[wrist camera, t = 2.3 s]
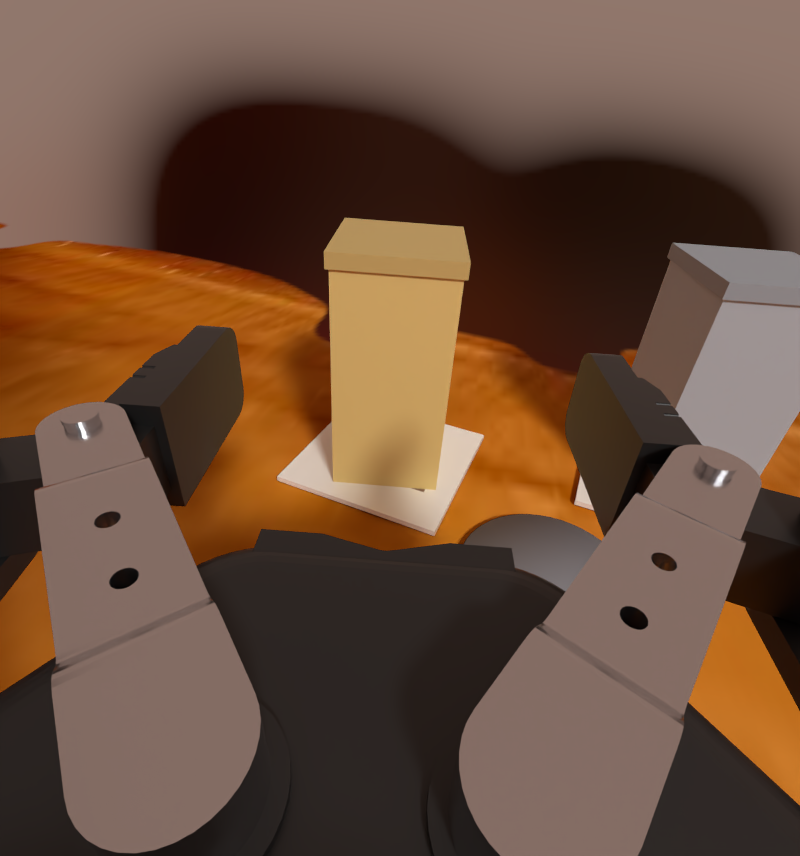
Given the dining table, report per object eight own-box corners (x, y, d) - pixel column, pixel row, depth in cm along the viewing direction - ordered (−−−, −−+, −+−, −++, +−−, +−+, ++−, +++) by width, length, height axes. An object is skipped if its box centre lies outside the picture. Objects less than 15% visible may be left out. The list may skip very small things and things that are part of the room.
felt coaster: (431, 622, 21) (432, 616, 20) (483, 501, 27) (484, 495, 27) (636, 705, 18) (640, 700, 18) (642, 552, 25) (644, 547, 24)
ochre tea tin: (329, 483, 27) (323, 251, 20) (345, 422, 32) (344, 217, 25) (438, 492, 27) (470, 262, 20) (437, 429, 32) (463, 226, 25)
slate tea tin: (630, 507, 27) (729, 282, 20) (600, 442, 31) (672, 242, 25) (740, 516, 27) (879, 294, 20) (694, 450, 31) (792, 251, 25)
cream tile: (277, 480, 27) (277, 476, 27) (354, 402, 34) (354, 398, 34) (434, 535, 25) (434, 531, 24) (483, 439, 32) (484, 435, 31)
